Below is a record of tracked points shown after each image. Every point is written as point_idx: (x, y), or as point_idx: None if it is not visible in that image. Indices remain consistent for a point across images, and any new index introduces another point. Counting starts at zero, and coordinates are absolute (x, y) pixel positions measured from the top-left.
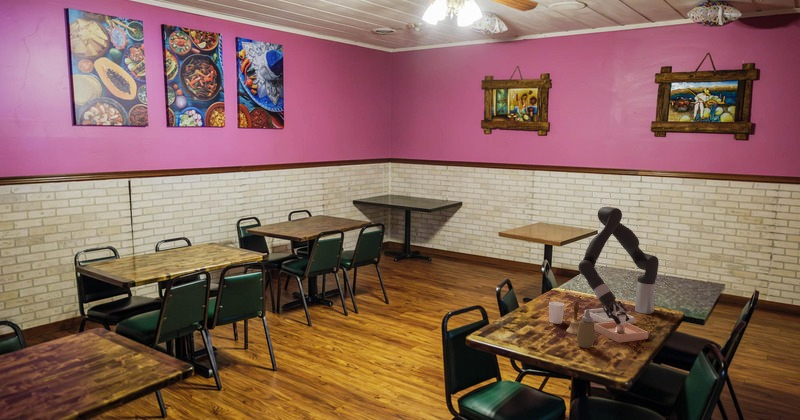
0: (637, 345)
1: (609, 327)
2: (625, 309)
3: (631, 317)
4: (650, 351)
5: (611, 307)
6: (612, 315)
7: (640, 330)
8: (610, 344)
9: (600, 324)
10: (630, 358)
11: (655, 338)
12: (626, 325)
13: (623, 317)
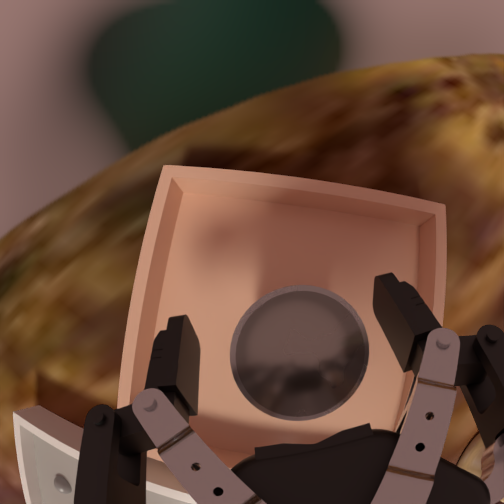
0: (345, 141)
1: None
2: (99, 425)
3: (26, 423)
4: (341, 73)
5: (458, 474)
6: (496, 328)
7: (161, 233)
8: (477, 226)
9: None
10: (472, 88)
11: (134, 175)
12: (140, 386)
13: (324, 291)
